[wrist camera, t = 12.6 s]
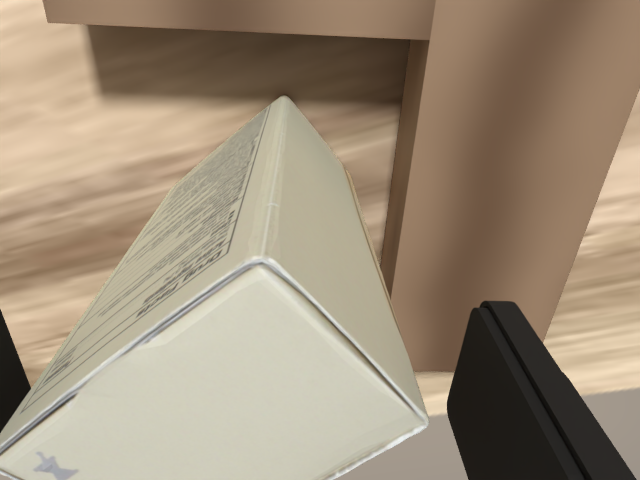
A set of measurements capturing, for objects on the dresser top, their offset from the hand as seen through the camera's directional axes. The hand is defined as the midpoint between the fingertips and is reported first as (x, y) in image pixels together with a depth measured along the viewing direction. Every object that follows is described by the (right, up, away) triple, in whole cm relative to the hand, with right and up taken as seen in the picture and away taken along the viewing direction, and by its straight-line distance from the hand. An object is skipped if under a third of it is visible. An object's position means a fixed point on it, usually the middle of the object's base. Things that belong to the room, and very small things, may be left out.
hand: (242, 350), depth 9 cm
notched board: (+3, +5, +9) cm, 10 cm away
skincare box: (-1, +5, +9) cm, 10 cm away
